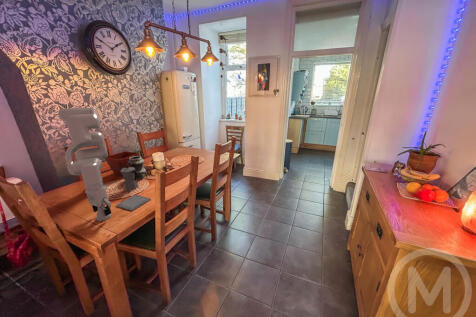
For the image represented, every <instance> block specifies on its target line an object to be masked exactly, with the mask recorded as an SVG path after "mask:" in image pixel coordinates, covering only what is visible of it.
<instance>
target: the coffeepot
mask: <svg viewBox="0 0 476 317" xmlns="http://www.w3.org/2000/svg"><path fill="white" fill-rule="evenodd" d="M120 171H121V173H122V175H123V176H122V178H123V179H124V190H125V191H126V190H127V192H129V191H130V192H131V190H132V191H135V190H137V189H138V188H139V184H138V182H137V180H136V179H137V172H136V171H135V168H134V167H129V168H128V166H126V168H123V169H122V170H120ZM137 187H138V188H137ZM136 188H137V189H136ZM134 189H135V190H134Z"/></svg>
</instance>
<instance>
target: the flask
mask: <svg viewBox="0 0 476 317" xmlns="http://www.w3.org/2000/svg"><path fill="white" fill-rule="evenodd" d="M111 217H112V213H111V214H109V215H107V216H105V214H104V208H103V207H102V206H101V207H98V211H97V212H96V217H95V221H97V222H103V221H107V220H108V219H109V218H111Z"/></svg>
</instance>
